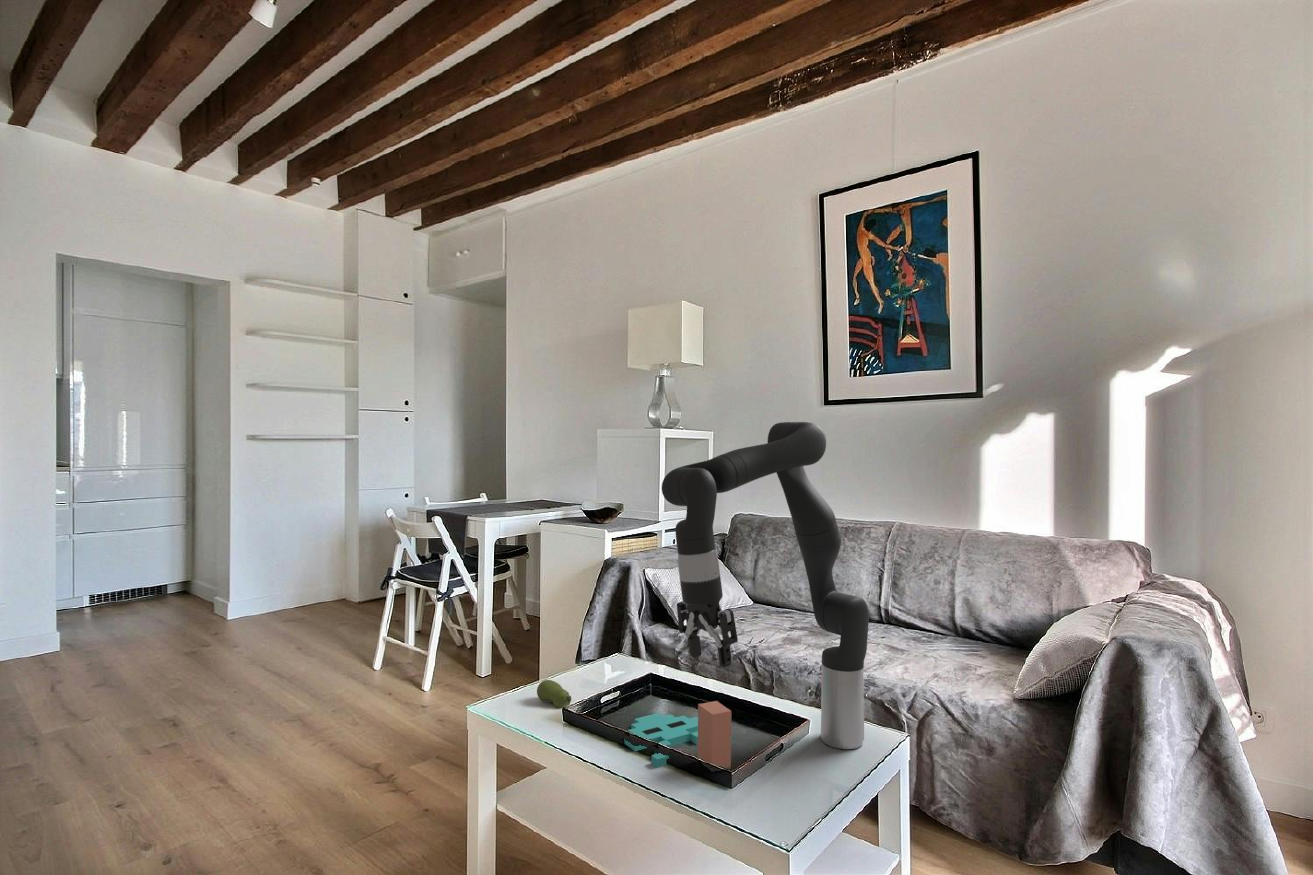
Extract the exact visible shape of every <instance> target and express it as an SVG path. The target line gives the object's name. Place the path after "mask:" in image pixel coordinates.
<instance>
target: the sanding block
mask: <svg viewBox="0 0 1313 875" xmlns="http://www.w3.org/2000/svg"><path fill="white" fill-rule="evenodd" d="M697 717H698V744H697V760H698V759H703V760H705V761H707V762H710V763H712V764H715V765H717V766H722V767H724V768H727V769H728V770H731V769H732V767H731V766H732V746H731V737H732V710H730V709H729V708H727V707H726V706H724V704H722V703H720V702H719V701H718V700H714V701H708V702H704V703H698V704H697Z"/></svg>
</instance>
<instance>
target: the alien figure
mask: <svg viewBox="0 0 1313 875" xmlns="http://www.w3.org/2000/svg"><path fill="white" fill-rule="evenodd" d="M630 726H631V727H630V728H631V729H627V732H628V731H630V732H631V733H633V734H636V735H638V736H640V737H642V738H647V739H651V740H653V741H654V742H657V743H661V744H662V745H668V746H669V747H670V748H672V747H675V746H677V745H681V744H685V743H690V742H691V743H693V744H694V745H697V746H698V716H694V717H691V718H689V717H687V716H686V715H681V716H674V715H673V714H667V715H662V714H660V713H659V712H656V713H654V714H649V715H645V716H641V717H637V718H634V723H632V724H630ZM624 745H626V746H627V747H628V748H630V749H631V750H632V751H634V752H638V751H641V750H643V749H648V748H647V747H645V746H641V745H639V746H634V745H632V744H631V743H630V742H628V741H626V740H625V739H624ZM732 746H733V737H732V736H731V747H732ZM672 749H673V748H672ZM668 759H670V755H669V756H668V755H663V754H661V753H658V754H657V753H655V752H654V754H652V755H651V764H652V766H654V767H655V768H657V769H659V768H662V767H665V766H667V760H668Z"/></svg>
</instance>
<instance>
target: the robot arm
mask: <svg viewBox="0 0 1313 875" xmlns="http://www.w3.org/2000/svg"><path fill="white" fill-rule="evenodd" d="M826 449H827V437H826V435H825V432H824V430H823V429H822V428H821V427H820V426H819V424H816V423H813V422H808V421H792V422H791V421H783V422H782V421H781V422H778V423H775V424H773V425H772V426H771V427H770V429H769V432H768V434H767V443H762V444H757V445H751V446H746V447H741V448H737V449H733V450H731V451H728V452H725V453H722V454H720V455H717V456H715V457H712V458H710V459H707V460H704V461H699V462H695V463H690V464H686V465H682V466H680V467H676V468H673V469H672V470H671V471H669V472H668V473H667V474H666V475H665V476H664V477H663V480H662V482H661V493H662V496H663V498H664V499H665V501H667V502H668V503H669V504H671V505H672V506H673V505H674V506H677V507H686V514H685V515H686V516H685V519H682V520H680V521H678V522H677V523H676V524H675V539H676V540H675V541H676V548H677V566H678V574H679V584H680V591H681V597H682V598H681V599H682V601H680V602H677V603H676V610H677V611H676V614H677V624H678V631H679V633H680V634H684V637H685V638H686V639H687V643H688V650H689V654H690V657H691V658H694V659H695V658H699V657H700V656H702V654H703V653H702V645H701V639H700V637H701V636H700V635H699V634H700V631H701V630H703V631H704V632H707V633H708V635H709V637H710V638H712V639H714V642H715V643H716V645H717V647H716V648H717V657H718V662H719V667H720V668H726V667H729V666H731V664H732V662H733V661H732V653H731V652H732V651H731V645H734V644H736V643H738V640H739V639H738V633H737V627H736V620H735V614H734V611H733V609H727V610H722V607H721V604H720V603H721V602H720V601H721V600H722V599H723V597H724V595H723V588H722V579H721V573H720V572H721V571H720V564H719V558H718V554H717V549H716V542H715V535H714V534H715V533H714V529H713V528H714V522H715V521H714V520H715V513H716V505H717V496H718V494H722V493H727V492H730V491H732V490H735V489H737V488H740V487H742V486H744V485H746V484H748V483H751V482H753V481H756V480H758V479H761V478H764V477H766V476H770V475H772V474H776V475H777V478H778V480H779V483H780V486H781V489H782V491H783V494H784V496H785V497H784V498H785V500H786V504H787V506H788V510H789V513H790V516H791V520H792V524H793V528H794V529H793V530H794V532H795V536H796V541H797V543H798V546H799V550H800V553H801V556H802V560H803V563H804V569H805V572H806V576H807V580H808V586H809V592H810V598H811V603H812V610H813V614H814V618H815V621H816V623H817V625H818V627H819V628H821V629H822V630H823V631H825V632H828V633H831V634H833V635H834V634H835V635H838V636H840V639H839V645H837V646H831V647H827V648H825V649H823V651H822V654H821V689H820V690H821V691H820V693H821V694H820V695H821V696H820V697H821V698H820V700H821V703H820V704H821V705H820V710H821V711H820V740H821V742H822V743H824V744H826V745H827V746H829V747H832V748H836V749H841V750H852V749H853V750H855V749H858V748H861V747H862V746H863V744H864V743H863V742H864V739H865V697H864V685H865V684H864V680H865V679H864V677H865V676H864V672H865V670H864V669H865V666H864V665H865V658H866V654H867V651H868V650H867V649H868V639H869V638H868V636H869V621H870V616H869V615H870V613H869V608H868V605H867V603H866V601H865V599H864V598H861V597H860V596H855V595H852V594H847V593H842V592H839V591H838V590H837V587H836V585H835V581H834V577H833V568H834V566H835V563H836V560H837V558H838V555H839V554H840V553H839V552H840V550H841V545H842V539H841V534H840V530H839V527H838V522H837V518H836V516H835V513H834V511H833V509H832V508H831V506H830V505H829V503H828V502H827V501H826V499H825V498H824V497H823V496H822V495H821V494H820V493H819V491H818V490H817V489H816V488H815V486H814V485H813V484H812V483H811V481H810V480H809V477H808V475H807V473H806V471H805V468H804V466H812V465H814V464H817V463H818V462H819V461H820V460H821V459H822V458H823V456H824V455H825V452H826ZM685 622H686V624H685ZM729 632H730V635H729ZM720 635H721V636H720ZM721 637H722V639H721Z"/></svg>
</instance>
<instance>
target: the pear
mask: <svg viewBox="0 0 1313 875" xmlns="http://www.w3.org/2000/svg"><path fill="white" fill-rule="evenodd" d="M536 695H537V697H538V699H539V700H540V701H541V702H546V703H547V702H551V703H552V704H554V706H555V707H556V708H558V709H562V708H566V707H567V706H569V705H571V701H572V696H571V695H570V693H569V691H567V690H566V689H564V688H563V687H562V686H561V685H560V684H559V683H558V681H557V682H556V681H554V680H551V679H545V680H542V681H541V682H540V683H539V684H538V685H537V689H536Z"/></svg>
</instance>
